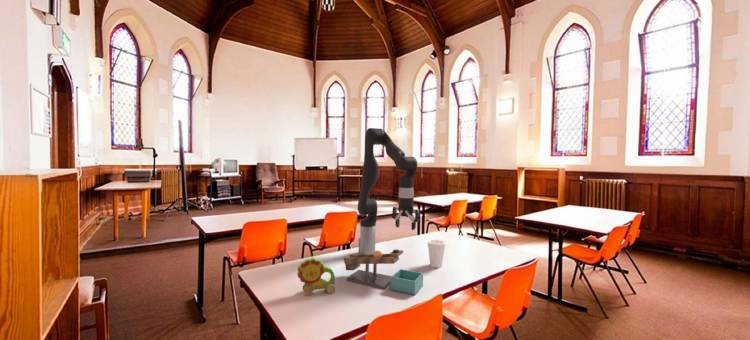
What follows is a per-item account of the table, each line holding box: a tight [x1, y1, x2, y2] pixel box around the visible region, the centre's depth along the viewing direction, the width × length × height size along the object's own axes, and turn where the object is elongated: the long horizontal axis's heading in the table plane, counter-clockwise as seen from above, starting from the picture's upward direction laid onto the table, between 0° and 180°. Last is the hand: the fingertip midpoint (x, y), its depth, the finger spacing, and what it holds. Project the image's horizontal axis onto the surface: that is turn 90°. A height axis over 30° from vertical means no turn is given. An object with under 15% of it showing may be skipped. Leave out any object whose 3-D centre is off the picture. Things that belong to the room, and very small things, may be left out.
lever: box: [343, 248, 404, 271], centre depth 159 cm, size 26×18×6 cm
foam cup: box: [427, 239, 446, 269], centre depth 175 cm, size 10×9×13 cm
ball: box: [374, 250, 383, 257], centre depth 152 cm, size 4×4×4 cm
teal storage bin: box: [390, 268, 424, 296], centre depth 146 cm, size 11×11×6 cm
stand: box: [345, 262, 393, 290], centre depth 154 cm, size 20×12×10 cm, turn 64°
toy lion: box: [297, 257, 336, 296], centre depth 139 cm, size 16×5×15 cm, turn 105°
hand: (405, 228), depth 162 cm, fingers open, 8 cm apart
